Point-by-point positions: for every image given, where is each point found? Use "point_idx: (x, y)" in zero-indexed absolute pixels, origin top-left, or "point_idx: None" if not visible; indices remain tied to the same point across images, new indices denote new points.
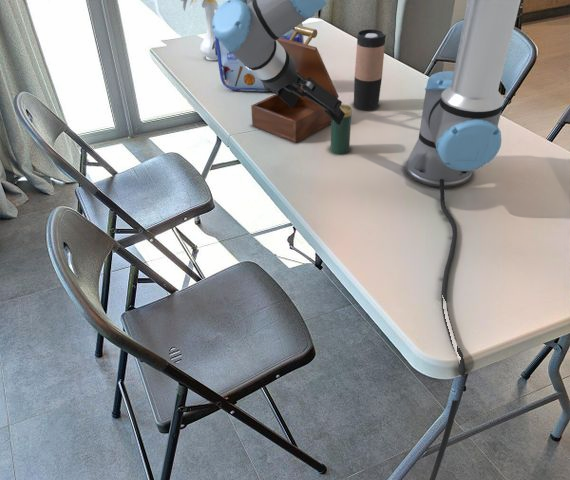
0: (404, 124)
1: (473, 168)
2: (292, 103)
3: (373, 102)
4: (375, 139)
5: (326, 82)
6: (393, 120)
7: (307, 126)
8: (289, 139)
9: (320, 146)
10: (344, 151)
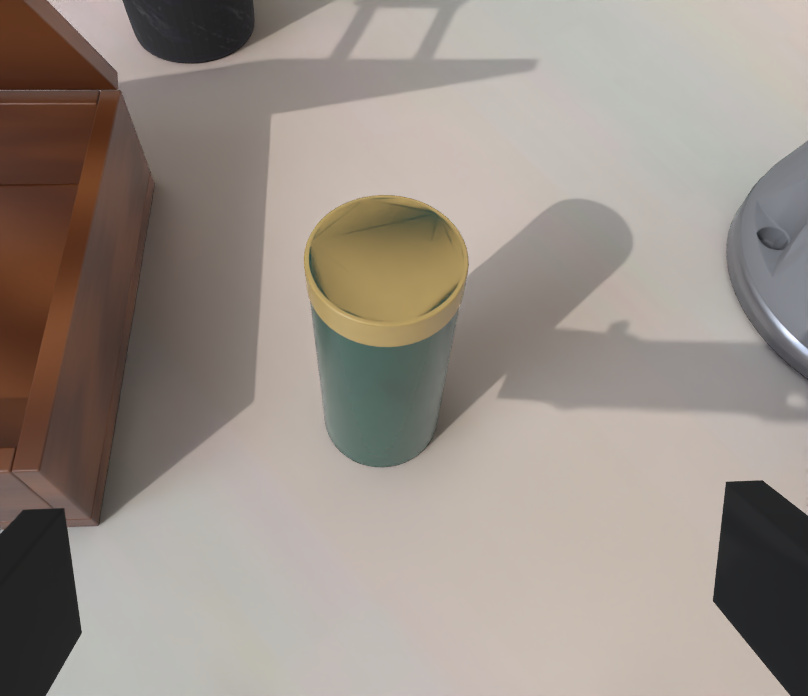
0: (451, 62)
1: None
2: (51, 634)
3: (245, 3)
4: None
5: (22, 34)
6: (389, 60)
7: (94, 382)
8: None
9: (261, 455)
10: (435, 428)
